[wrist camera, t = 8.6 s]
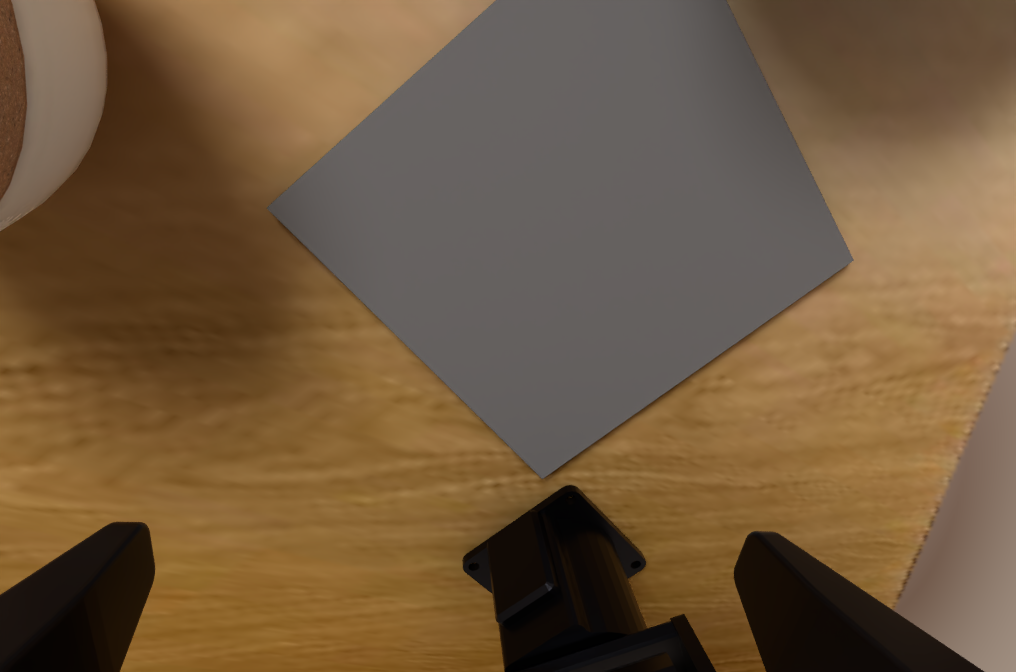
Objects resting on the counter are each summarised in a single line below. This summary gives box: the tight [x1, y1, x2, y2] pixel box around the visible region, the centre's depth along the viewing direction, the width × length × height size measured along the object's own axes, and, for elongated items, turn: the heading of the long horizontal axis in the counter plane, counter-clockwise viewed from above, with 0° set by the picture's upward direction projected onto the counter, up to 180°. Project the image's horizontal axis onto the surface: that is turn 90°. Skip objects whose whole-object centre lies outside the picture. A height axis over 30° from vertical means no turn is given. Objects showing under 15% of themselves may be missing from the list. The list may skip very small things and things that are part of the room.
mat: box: [267, 0, 854, 479], centre depth 20 cm, size 15×15×1 cm
